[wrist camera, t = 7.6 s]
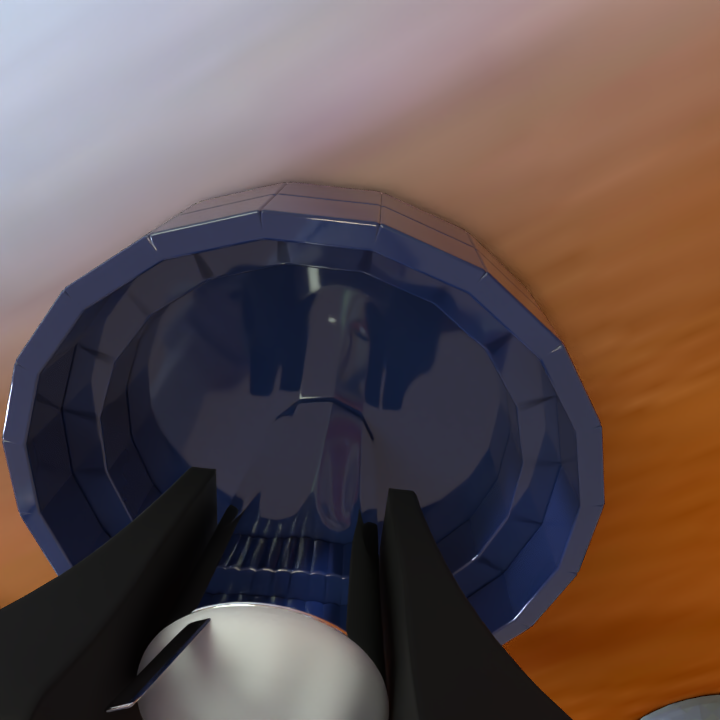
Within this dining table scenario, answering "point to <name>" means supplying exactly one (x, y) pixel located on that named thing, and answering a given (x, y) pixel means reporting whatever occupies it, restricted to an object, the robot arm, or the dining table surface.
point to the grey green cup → (689, 710)
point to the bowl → (314, 383)
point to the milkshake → (281, 590)
